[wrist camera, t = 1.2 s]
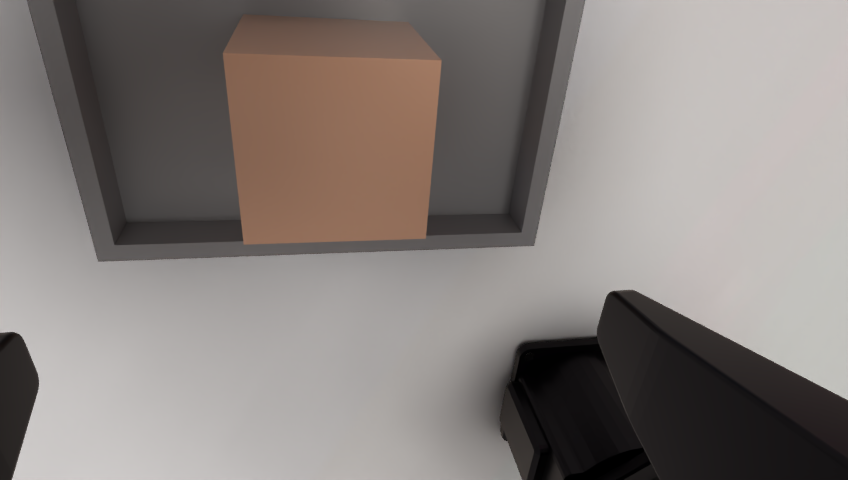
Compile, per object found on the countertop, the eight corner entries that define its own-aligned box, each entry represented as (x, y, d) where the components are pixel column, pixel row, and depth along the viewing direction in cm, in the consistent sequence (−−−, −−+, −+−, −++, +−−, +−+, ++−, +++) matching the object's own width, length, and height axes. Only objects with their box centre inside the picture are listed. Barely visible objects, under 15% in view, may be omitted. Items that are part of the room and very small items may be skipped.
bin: (568, -60, 17) (596, -56, 16) (516, 220, 23) (534, 245, 21) (33, -104, 14) (-2, -105, 13) (115, 230, 20) (98, 261, 18)
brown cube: (408, 21, 17) (441, 60, 13) (400, 167, 20) (425, 238, 16) (243, 14, 16) (222, 52, 12) (256, 169, 19) (243, 244, 15)
